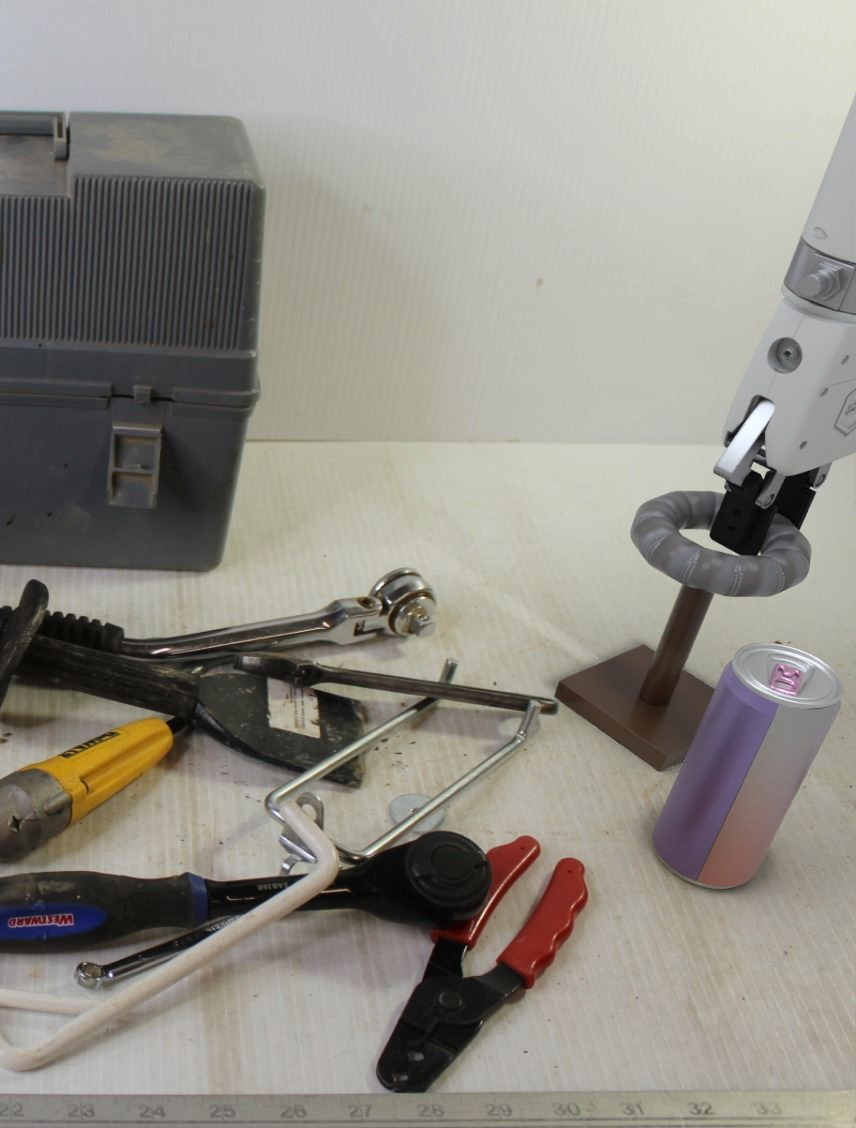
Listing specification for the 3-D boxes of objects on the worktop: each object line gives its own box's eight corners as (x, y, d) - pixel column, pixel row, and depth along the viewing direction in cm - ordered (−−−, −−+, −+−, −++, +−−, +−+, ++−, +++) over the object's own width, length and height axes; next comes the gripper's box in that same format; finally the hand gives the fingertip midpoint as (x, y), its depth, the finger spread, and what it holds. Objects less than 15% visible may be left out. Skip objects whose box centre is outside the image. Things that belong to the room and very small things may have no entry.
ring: (694, 501, 93) (706, 469, 91) (836, 575, 86) (852, 542, 84) (592, 542, 89) (603, 508, 87) (733, 623, 81) (748, 588, 80)
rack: (637, 659, 100) (687, 531, 93) (745, 729, 93) (807, 597, 87) (553, 696, 96) (598, 565, 90) (659, 771, 90) (717, 636, 83)
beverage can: (639, 867, 83) (722, 681, 74) (658, 811, 87) (738, 628, 78) (744, 909, 80) (843, 721, 71) (759, 848, 84) (853, 663, 75)
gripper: (835, 329, 72) (720, 604, 83) (1008, 273, 78) (880, 535, 89) (712, 281, 77) (619, 545, 88) (883, 232, 84) (777, 484, 94)
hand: (751, 538), depth 88 cm, fingers closed on ring, 3 cm apart
